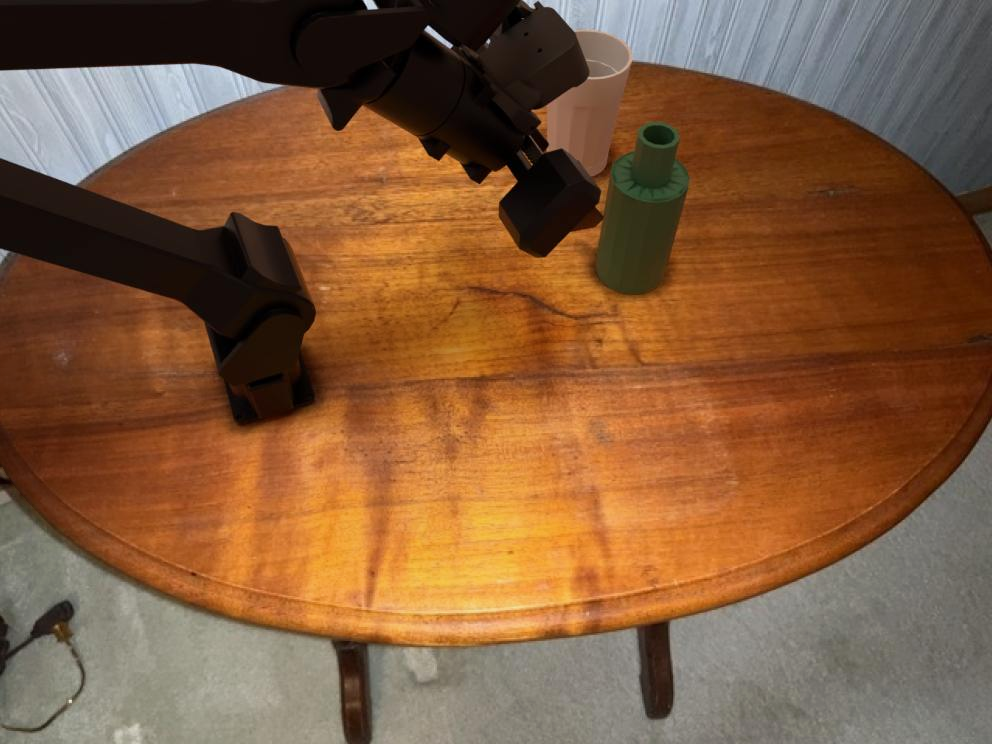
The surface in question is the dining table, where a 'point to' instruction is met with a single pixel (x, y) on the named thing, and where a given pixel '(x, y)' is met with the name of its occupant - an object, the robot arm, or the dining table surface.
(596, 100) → the cup
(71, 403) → the dining table surface
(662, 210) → the bottle
